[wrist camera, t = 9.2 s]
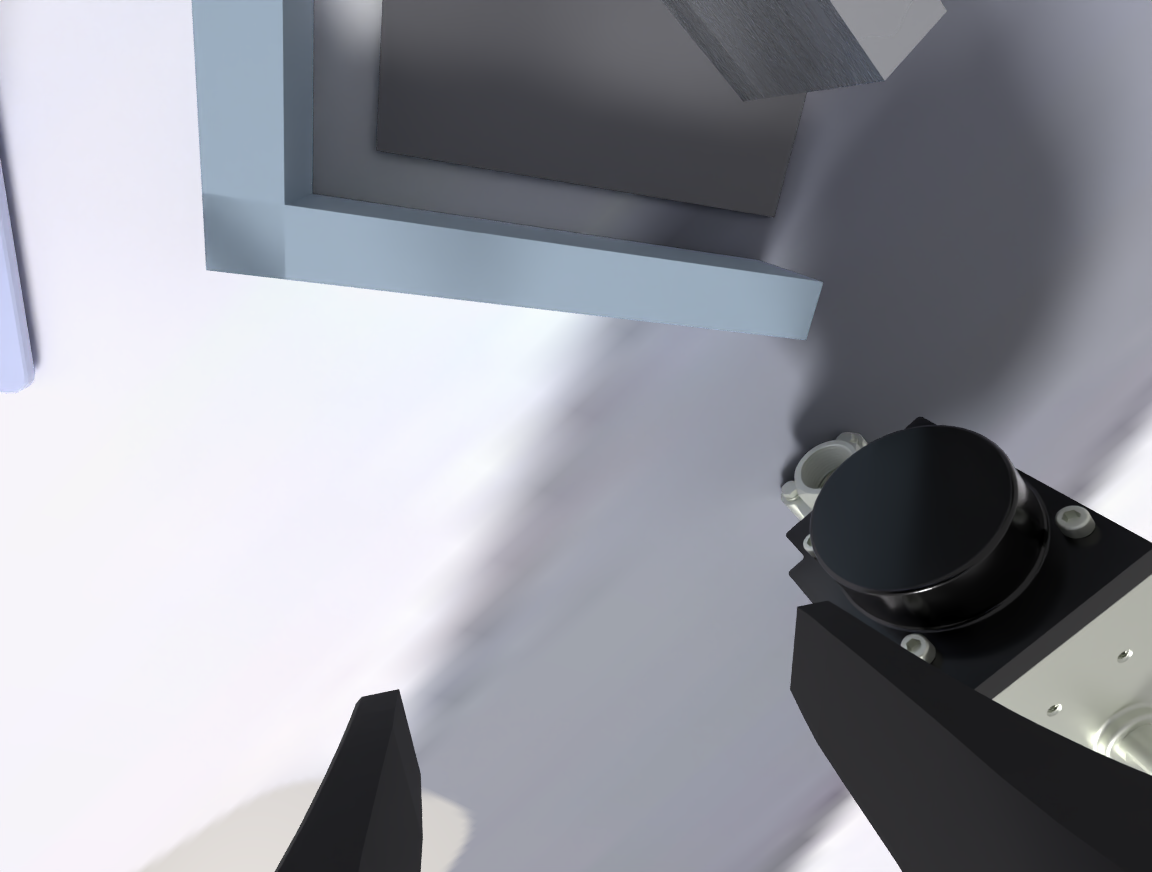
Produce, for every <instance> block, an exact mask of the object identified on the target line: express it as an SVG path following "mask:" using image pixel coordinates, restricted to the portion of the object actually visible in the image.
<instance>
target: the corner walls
mask: <svg viewBox="0 0 1152 872" xmlns="http://www.w3.org/2000/svg"><path fill="white" fill-rule="evenodd" d="M192 15H193V34H194V52H195V71H196V89H197V108H198V126H199V145H200V163H201V181H202V200H203V218H204V237H205V255H206V270H210V271H218V272H227V273H235V274H244V275H253V276H261V277H270V278H278V279H287V280H295V281H304V282H312V283H321V284H330V285H338V286H347V287H355V288H364V289H372V290H381V291H389V292H398V293H407V294H415V295H424V296H432V297H441V298H449V299H458V300H466V301H475V302H484V303H492V304H501V305H509V306H518V307H526V308H535V309H543V310H552V311H560V312H569V313H578V314H586V315H595V316H603V317H612V318H620V319H629V320H637V321H646V322H655V323H663V324H672V325H680V326H689V327H697V328H706V329H714V330H723V331H732V332H740V333H749V334H757V335H766V336H774V337H783V338H791V339H800V340H806V339H807V335H808V332H809V329H810V325H811V322H812V319H813V315H814V312H815V309H816V305H817V302H818V299H819V295H820V292H821V289H822V285H823V282H822V281H819V280H816V279H813V278H810V277H807V276H804V275H801V274H799V273H796V272H793V271H790V270H787V269H784V268H781V267H778V266H775V265H772V264H769V263H766V262H763V261H761V260H755V259H748V258H741V257H735V256H728V255H721V254H715V253H708V252H701V251H694V250H688V249H681V248H674V247H667V246H661V245H654V244H647V243H641V242H634V241H627V240H620V239H614V238H607V237H600V236H594V235H587V234H580V233H573V232H567V231H560V230H553V229H546V228H540V227H533V226H526V225H520V224H513V223H506V222H499V221H493V220H486V219H479V218H473V217H466V216H459V215H452V214H446V213H439V212H432V211H425V210H419V209H412V208H405V207H399V206H392V205H385V204H378V203H372V202H365V201H358V200H351V199H345V198H338V197H331V196H325V195H318V194H313V35H314V0H192Z"/></svg>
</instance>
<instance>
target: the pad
mask: <svg viewBox="0 0 1152 872" xmlns="http://www.w3.org/2000/svg"><path fill="white" fill-rule="evenodd" d="M806 94H807V92H805V93H798V94H791V95H784V96H778V97H771V98H764V99H757V100H750V101H742V100H741V98H740V97H739V96H738V95H737V93H736V92H735V91H734V90H733V88H732V87H731V86H730V85H729V84H728V82H727V81H726V80H725V79H724V77H723V76H722V75H721V74H720V73H719V71H718V70H717V69H716V68H715V66H714V65H713V64H712V63H711V61H710V60H709V59H708V58H707V57H706V55H705V54H704V53H703V52H702V50H701V49H700V48H699V47H698V46H697V44H696V43H695V42H694V41H693V39H692V38H691V37H690V36H689V34H688V33H687V32H686V31H685V30H684V28H683V27H682V26H681V25H680V23H679V22H678V21H677V20H676V19H675V17H674V16H673V15H672V14H671V12H670V11H669V10H668V9H667V7H666V6H665V5H664V4H663V3H662V1H661V0H383V1H382V26H381V51H380V76H379V101H378V126H377V151H383V152H389V153H395V154H401V155H407V156H413V157H419V158H425V159H431V160H437V161H442V162H448V163H454V164H460V165H466V166H472V167H478V168H484V169H490V170H496V171H502V172H508V173H514V174H520V175H526V176H532V177H538V178H544V179H550V180H555V181H561V182H567V183H573V184H579V185H585V186H591V187H597V188H603V189H609V190H615V191H621V192H627V193H633V194H639V195H645V196H651V197H657V198H663V199H669V200H674V201H680V202H686V203H692V204H698V205H704V206H710V207H716V208H722V209H728V210H734V211H740V212H746V213H752V214H758V215H764V216H770V217H774V216H775V213H776V209H777V205H778V201H779V197H780V193H781V190H782V186H783V182H784V178H785V174H786V170H787V167H788V163H789V159H790V155H791V151H792V148H793V144H794V140H795V136H796V132H797V128H798V125H799V121H800V117H801V113H802V109H803V105H804V102H805V98H806Z"/></svg>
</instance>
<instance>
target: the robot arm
mask: <svg viewBox="0 0 1152 872" xmlns="http://www.w3.org/2000/svg"><path fill="white" fill-rule="evenodd" d="M34 376H35V371H34V365H33V358H32V352H31V346H30V340H29V334H28V327H27V321H26V315H25V309H24V303H23V296H22V290H21V284H20V278H19V272H18V265H17V259H16V253H15V247H14V241H13V234H12V228H11V222H10V216H9V210H8V203H7V197H6V191H5V185H4V179H3V172H2V166H1V160H0V393H5V394H10V393H17V392H19V391H21V390H23V389H25V388H27V387H28V386H30V385H31V383H32V382H33V381H34ZM790 690H791V692H792V694H793V696H794V698H795V700H796V702H797V704H798V706H799V709H800V711H801V713H802V715H803V717H804V719H805V721H806V723H807V724H808V726H809V728H810V730H811V732H812V734H813V736H814V738H815V740H816V742H817V743H818V745H819V746H820V748H821V749H822V751H823V753H824V754H825V756H826V757H827V759H828V760H829V762H830V763H831V765H832V766H833V768H834V769H835V771H836V772H837V774H838V775H839V777H840V779H841V780H842V782H843V783H844V785H845V786H846V788H847V789H848V791H849V792H850V794H851V795H852V797H853V798H854V800H855V801H856V803H857V804H858V806H859V807H860V809H861V810H862V812H863V813H864V814H865V816H866V817H867V819H868V820H869V822H870V823H871V825H872V826H873V828H874V829H875V831H876V832H877V834H878V835H879V837H880V838H881V840H882V841H883V843H884V844H885V846H886V847H887V849H888V850H889V852H890V853H891V855H892V856H893V858H894V859H895V861H896V862H897V864H898V866H899V867H900V869H901V870H902V872H1152V775H1149V774H1147V773H1145V772H1142V771H1140V770H1137V769H1135V768H1132V767H1130V766H1128V765H1125V764H1123V763H1120V762H1118V761H1116V760H1114V759H1111V758H1109V757H1107V756H1105V755H1102V754H1100V753H1098V752H1096V751H1093V750H1091V749H1089V748H1087V747H1085V746H1083V745H1081V744H1079V743H1076V742H1074V741H1072V740H1070V739H1068V738H1066V737H1064V736H1062V735H1060V734H1058V733H1056V732H1054V731H1051V730H1049V729H1047V728H1045V727H1043V726H1041V725H1039V724H1037V723H1035V722H1033V721H1031V720H1029V719H1027V718H1025V717H1023V716H1021V715H1019V714H1018V713H1016V712H1014V711H1012V710H1010V709H1008V708H1006V707H1005V706H1003V705H1001V704H999V703H997V702H995V701H994V700H992V699H990V698H988V697H986V696H985V695H983V694H981V693H979V692H977V691H975V690H974V689H972V688H970V687H968V686H967V685H965V684H963V683H961V682H960V681H958V680H956V679H955V678H953V677H951V676H949V675H948V674H946V673H944V672H943V671H941V670H939V669H938V668H936V667H934V666H933V665H931V664H929V663H928V662H926V661H924V660H923V659H921V658H920V657H918V656H916V655H915V654H913V653H911V652H910V651H908V650H907V649H905V648H903V647H902V646H900V645H899V644H897V643H895V642H894V641H892V640H891V639H889V638H888V637H886V636H884V635H883V634H881V633H880V632H878V631H876V630H875V629H873V628H872V627H870V626H869V625H867V624H865V623H864V622H862V621H861V620H859V619H857V618H856V617H854V616H853V615H851V614H850V613H848V612H846V611H845V610H843V609H841V608H840V607H838V606H836V605H835V604H833V603H831V602H830V601H823V602H818V603H813V604H808V605H804V606H799V607H797V618H796V629H795V640H794V652H793V663H792V675H791V686H790ZM422 840H423V833H422V799H421V774H420V770H419V766H418V762H417V758H416V754H415V750H414V746H413V742H412V738H411V734H410V730H409V727H408V723H407V719H406V715H405V711H404V707H403V703H402V699H401V695H400V691H399V689H398V690H393V691H388V692H383V693H379V694H374V695H369V696H364V697H361V698H360V700H359V701H358V702H357V703H356V705H355V708H354V710H353V713H352V716H351V718H350V721H349V723H348V725H347V728H346V730H345V733H344V735H343V737H342V740H341V742H340V744H339V746H338V749H337V751H336V753H335V755H334V757H333V760H332V762H331V764H330V766H329V768H328V770H327V773H326V775H325V777H324V779H323V781H322V783H321V785H320V787H319V789H318V791H317V793H316V795H315V797H314V799H313V801H312V803H311V805H310V807H309V809H308V811H307V813H306V815H305V817H304V819H303V821H302V823H301V825H300V827H299V829H298V831H297V833H296V835H295V836H294V838H293V840H292V842H291V843H290V845H289V847H288V849H287V851H286V852H285V855H284V856H283V858H282V860H281V861H280V863H279V865H278V867H277V869H276V871H275V872H420V871H421V857H422Z"/></svg>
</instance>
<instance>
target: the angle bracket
mask: <svg viewBox="0 0 1152 872" xmlns="http://www.w3.org/2000/svg"><path fill="white" fill-rule="evenodd" d="M661 1H662V3H663V4H664V5H665V6H666V7H667V9H668V10H669V11H670V12H671V14H672V15H673V16H674V17H675V19H676V20H677V21H678V22H679V23H680V25H681V26H682V27H683V28H684V30H685V31H686V32H687V33H688V34H689V36H690V37H691V38H692V39H693V41H694V42H695V43H696V44H697V46H698V47H699V48H700V49H701V50H702V52H703V53H704V54H705V55H706V57H707V58H708V59H709V60H710V61H711V63H712V64H713V65H714V66H715V68H716V69H717V70H718V71H719V73H720V74H721V75H722V76H723V77H724V79H725V80H726V81H727V82H728V84H729V85H730V86H731V87H732V88H733V90H734V91H735V92H736V93H737V95H738V96H739V97H740V98H741V100H742V101H750V100H757V99H764V98H771V97H778V96H784V95H791V94H798V93H805V92H812V91H818V90H825V89H832V88H839V87H846V86H853V85H859V84H866V83H873V82H880V81H885V80H886V79H887V78H888V77H889V76H890V74H891V73H892V72H893V71H894V70H895V69H896V68H897V67H898V65H899V64H900V63H901V62H902V61H903V60H904V59H905V58H906V57H907V55H908V54H909V53H910V52H911V51H912V50H913V49H914V48H915V46H916V45H917V44H918V43H919V42H920V41H921V40H922V39H923V37H924V36H925V35H926V34H927V33H928V32H929V31H930V30H931V28H932V27H933V26H934V25H935V24H936V23H937V22H938V21H939V20H940V18H941V17H942V16H943V15H944V14H945V13H946V12H947V10H946V9H945V7H944V5H943V4H942V2H941V0H661Z"/></svg>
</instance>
